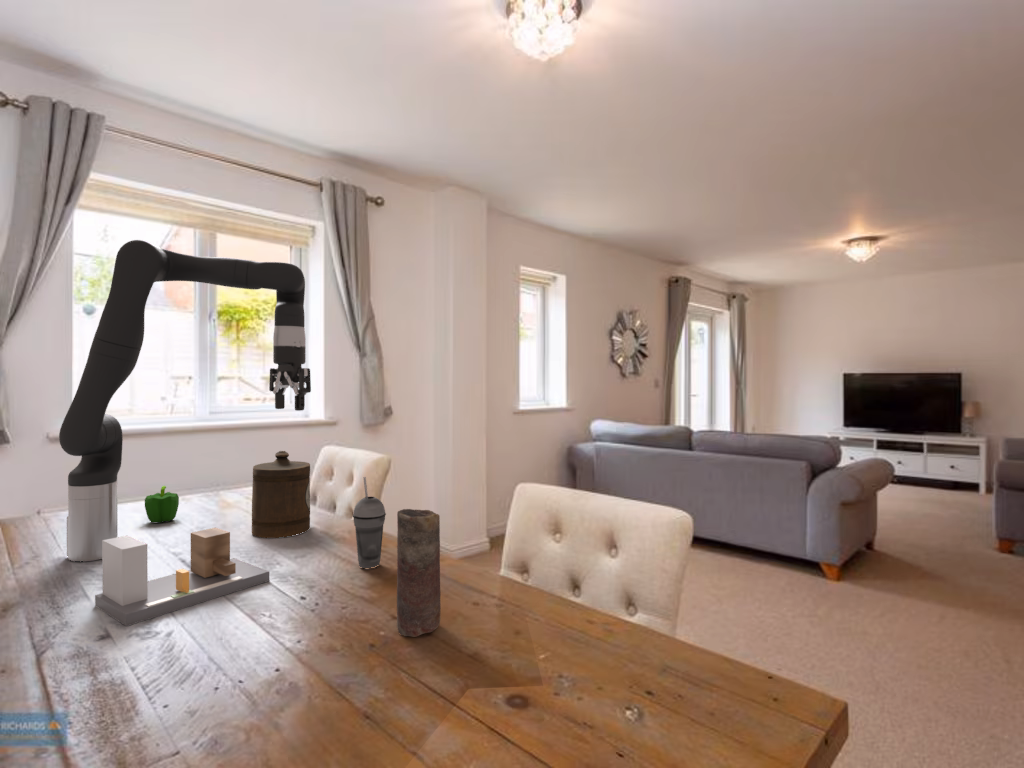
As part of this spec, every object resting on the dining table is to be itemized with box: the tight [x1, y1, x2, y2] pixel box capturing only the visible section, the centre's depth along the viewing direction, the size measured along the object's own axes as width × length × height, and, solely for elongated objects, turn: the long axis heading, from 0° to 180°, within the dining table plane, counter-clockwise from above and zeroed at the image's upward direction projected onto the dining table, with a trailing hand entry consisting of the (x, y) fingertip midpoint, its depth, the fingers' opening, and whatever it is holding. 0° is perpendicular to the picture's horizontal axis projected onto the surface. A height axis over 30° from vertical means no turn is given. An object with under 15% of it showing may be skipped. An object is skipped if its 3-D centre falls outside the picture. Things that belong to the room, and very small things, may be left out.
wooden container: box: [251, 450, 311, 539], centre depth 153 cm, size 15×15×22 cm
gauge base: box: [94, 535, 270, 627], centre depth 109 cm, size 26×14×12 cm, turn 144°
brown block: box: [190, 527, 236, 578], centre depth 113 cm, size 5×11×8 cm, turn 55°
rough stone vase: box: [396, 508, 442, 638], centre depth 94 cm, size 8×7×20 cm
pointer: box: [175, 568, 189, 593], centre depth 104 cm, size 1×4×4 cm, turn 54°
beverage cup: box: [352, 476, 387, 568], centre depth 125 cm, size 7×7×20 cm
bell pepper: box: [144, 485, 180, 523], centre depth 162 cm, size 8×8×10 cm
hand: (289, 409), depth 140 cm, fingers open, 8 cm apart
